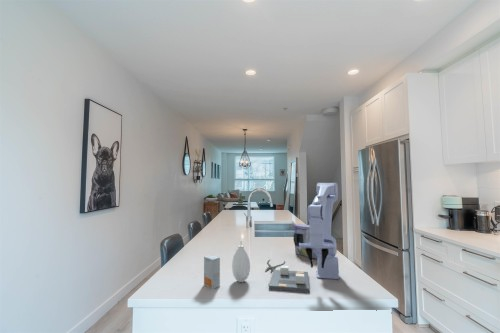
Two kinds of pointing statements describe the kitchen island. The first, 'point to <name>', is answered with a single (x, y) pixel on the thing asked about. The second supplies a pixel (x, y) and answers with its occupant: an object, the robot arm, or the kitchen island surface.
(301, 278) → the white rectangular block
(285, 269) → the far tab
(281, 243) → the kitchen island surface
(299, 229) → the cake pan box
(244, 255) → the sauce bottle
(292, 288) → the panel
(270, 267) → the pliers
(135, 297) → the kitchen island surface
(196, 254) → the kitchen island surface
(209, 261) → the skincare box
